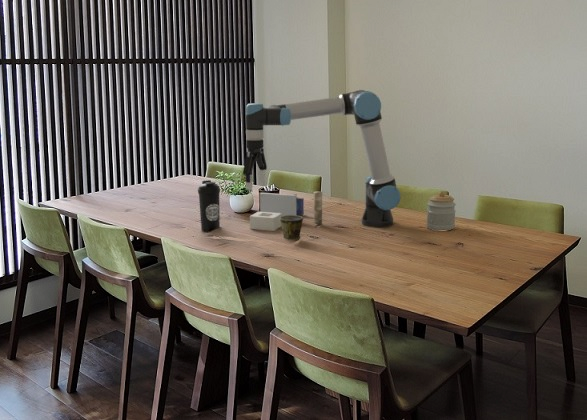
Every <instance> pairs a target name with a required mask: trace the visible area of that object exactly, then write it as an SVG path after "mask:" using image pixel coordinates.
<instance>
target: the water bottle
mask: <svg viewBox="0 0 587 420" xmlns="http://www.w3.org/2000/svg"><path fill="white" fill-rule="evenodd" d="M201 183H202V184H201V185H199V187H198V188H197V193H198V201H199V214H200V226H201V232H203V233H211V232H213V231H215V230H217V229H220V228H221V226H220V224H221V223H220V222H221V221H220V220H221V219H220V218H221V217H220V215H221V214H220V194H221V187H220V186H219V185H218V184H216V182H215V181H212V180H207V179H206V180H202V181H201Z"/></svg>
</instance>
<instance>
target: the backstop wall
mask: <svg viewBox="0 0 587 420" xmlns="http://www.w3.org/2000/svg"><path fill="white" fill-rule="evenodd" d="M296 197H297V195H293V194H288V193H287V194H286V193H271V192H260V193H259V206H260V207H259V209H260V210H259V212H271V213H282V216H287V215H296Z"/></svg>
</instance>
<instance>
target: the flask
mask: <svg viewBox="0 0 587 420" xmlns="http://www.w3.org/2000/svg"><path fill="white" fill-rule="evenodd" d="M292 195H296V215H297V216H301V217H303V216H304V215H305V213H304V212H305V210H304V208H305V207H304V203H305V201H304V200H305V199H304V197H297V196H298V194H296V193H293V194H292Z"/></svg>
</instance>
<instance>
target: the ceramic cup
mask: <svg viewBox="0 0 587 420" xmlns="http://www.w3.org/2000/svg"><path fill="white" fill-rule="evenodd" d="M280 221H281V228H282V235H283V238H284V239H288V240H294V241H293V242H298V241H299V240H300V237H301V236H300V235H301V231H302V230H301V229H302V227H303V226H302V225H303V221H304V217H303V216H299V215H287V216H282V217H281V218H280ZM295 239H296V240H295Z"/></svg>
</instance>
